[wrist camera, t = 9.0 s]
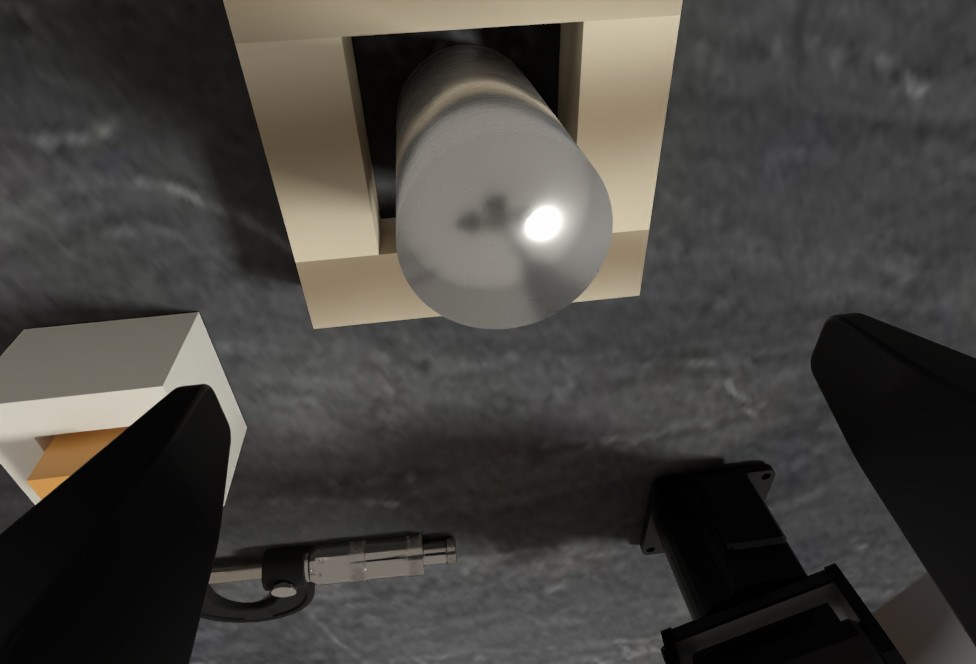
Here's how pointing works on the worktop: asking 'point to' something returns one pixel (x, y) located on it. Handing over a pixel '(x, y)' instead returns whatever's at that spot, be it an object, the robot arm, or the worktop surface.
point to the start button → (68, 457)
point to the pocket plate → (345, 150)
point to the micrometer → (320, 573)
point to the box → (102, 383)
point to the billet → (492, 194)
